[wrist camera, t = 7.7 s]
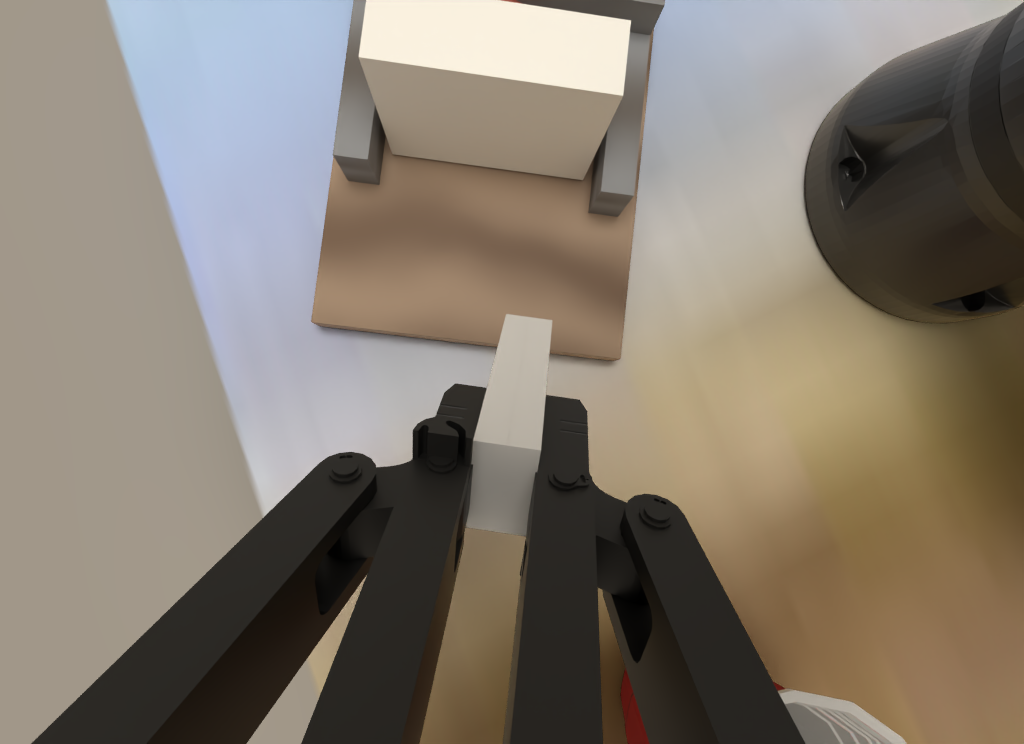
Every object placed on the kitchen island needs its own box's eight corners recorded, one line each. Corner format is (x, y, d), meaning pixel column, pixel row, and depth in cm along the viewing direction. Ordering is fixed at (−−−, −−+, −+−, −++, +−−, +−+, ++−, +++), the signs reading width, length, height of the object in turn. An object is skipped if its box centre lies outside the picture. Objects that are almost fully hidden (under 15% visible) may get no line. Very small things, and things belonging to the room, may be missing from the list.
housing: (613, 360, 30) (650, 350, 24) (319, 326, 29) (274, 305, 23) (651, -19, 31) (697, -128, 25) (371, -63, 30) (343, -189, 24)
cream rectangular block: (582, 180, 29) (623, 95, 21) (392, 154, 28) (358, 56, 20) (588, 125, 29) (631, 20, 21) (399, 98, 28) (368, -20, 20)
